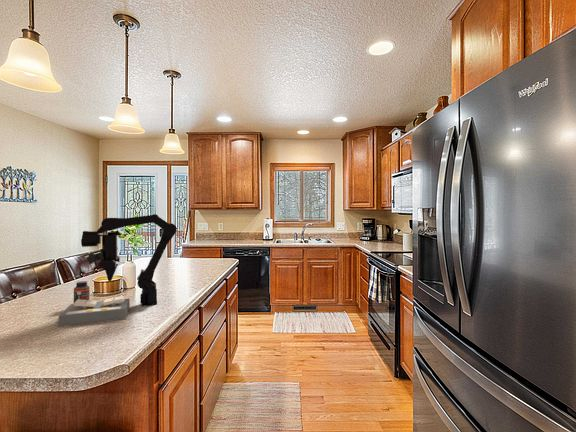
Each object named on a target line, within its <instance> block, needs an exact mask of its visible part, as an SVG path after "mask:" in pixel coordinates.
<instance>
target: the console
mask: <svg viewBox="0 0 576 432" xmlns="http://www.w3.org/2000/svg"><path fill="white" fill-rule="evenodd" d="M104 301H105V300H102V301H101V300H100V301H98V300H97V304H96V305H95V307H88V306H74V303H71V304H69V305H68V306H67V307H66V308H65V309H64V310H63V311H62V312H61V313H60V314H59V315H58V327H66V326H67V327H69V326H74V325H83V324H93V323H101V322H110V321H117V320H118V321H119V320H126V319H127V316H128V313H129V310H130V306H131V305H130V298H124V301H123V302H118V303H113V304H108V305H104V304H103V302H104Z"/></svg>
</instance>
